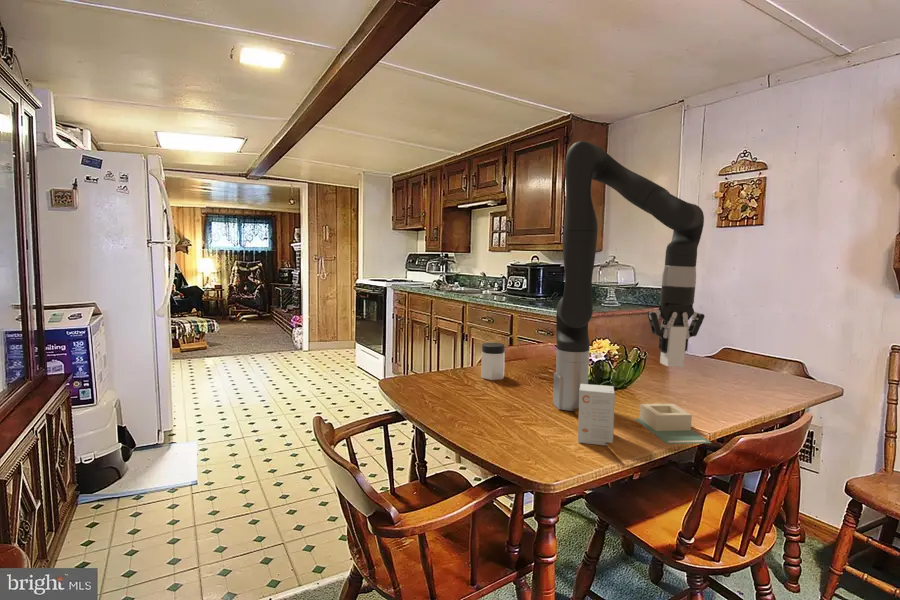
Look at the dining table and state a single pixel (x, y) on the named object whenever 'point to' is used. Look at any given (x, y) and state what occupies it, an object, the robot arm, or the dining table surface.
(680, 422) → the beige square socket
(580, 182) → the robot arm
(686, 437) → the board
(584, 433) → the small box
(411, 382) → the dining table surface
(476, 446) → the dining table surface
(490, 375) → the jar
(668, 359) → the plug
